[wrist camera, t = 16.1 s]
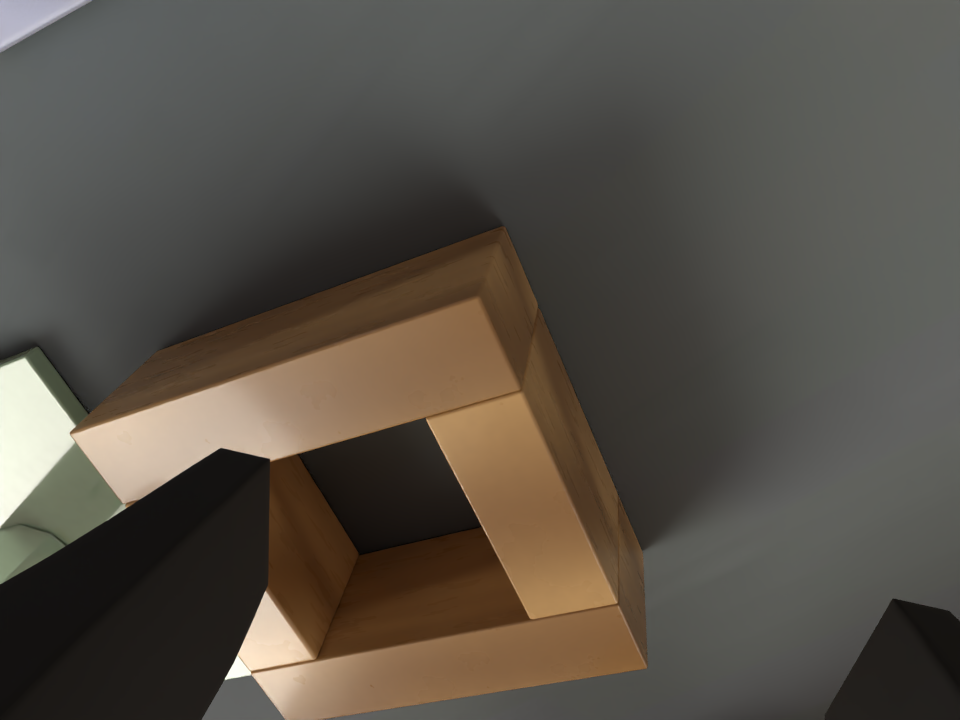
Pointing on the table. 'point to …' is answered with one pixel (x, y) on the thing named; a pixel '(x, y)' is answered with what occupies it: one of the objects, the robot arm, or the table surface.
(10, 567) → the milkshake
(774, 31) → the table surface
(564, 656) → the holder
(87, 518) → the tile
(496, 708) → the table surface
